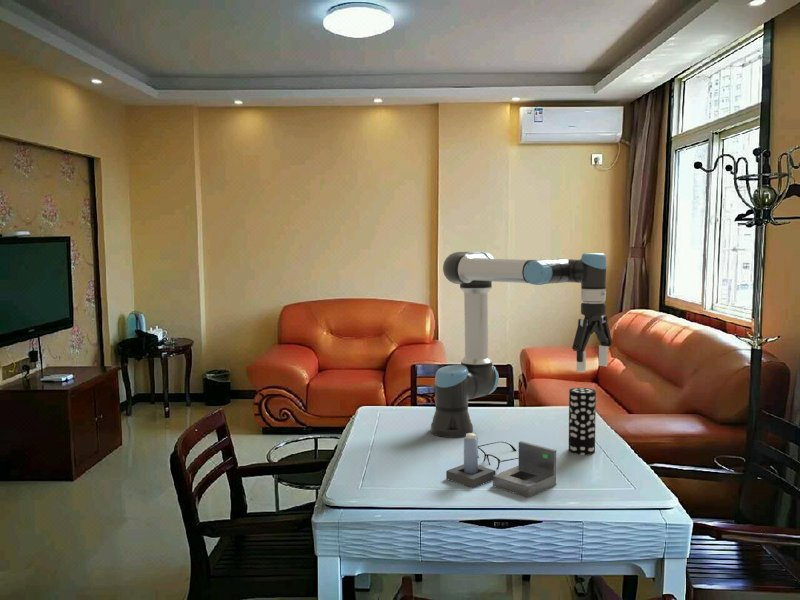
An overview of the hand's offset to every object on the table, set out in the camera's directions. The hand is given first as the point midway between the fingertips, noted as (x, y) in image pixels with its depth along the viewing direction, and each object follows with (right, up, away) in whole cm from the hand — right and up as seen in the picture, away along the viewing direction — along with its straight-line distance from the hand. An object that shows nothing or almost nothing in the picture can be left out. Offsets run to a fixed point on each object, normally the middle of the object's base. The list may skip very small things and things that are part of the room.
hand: (592, 369), depth 210 cm
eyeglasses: (-27, -29, -2) cm, 40 cm away
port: (-27, -30, -25) cm, 47 cm away
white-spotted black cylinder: (-2, -28, +6) cm, 28 cm away
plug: (-41, -30, -19) cm, 54 cm away
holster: (-41, -30, -19) cm, 54 cm away
